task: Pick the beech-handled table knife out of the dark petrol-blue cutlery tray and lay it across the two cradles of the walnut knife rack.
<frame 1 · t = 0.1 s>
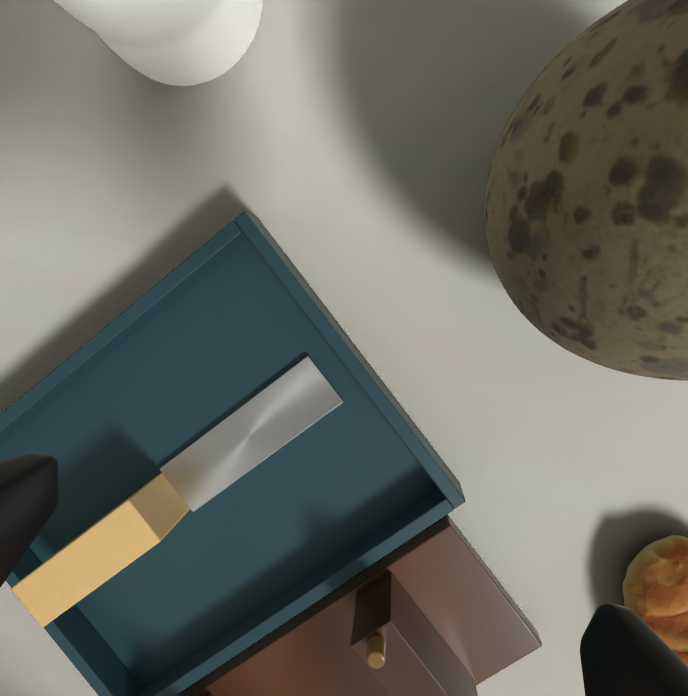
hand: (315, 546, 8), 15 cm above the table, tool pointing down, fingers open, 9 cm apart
knife rack: (348, 664, 25), on the table
knife: (194, 476, 24), resting on cutlery tray
cutlery tray: (198, 472, 25), on the table
water bottle: (189, 8, 23), on the table
decorative egg: (588, 223, 22), on the table
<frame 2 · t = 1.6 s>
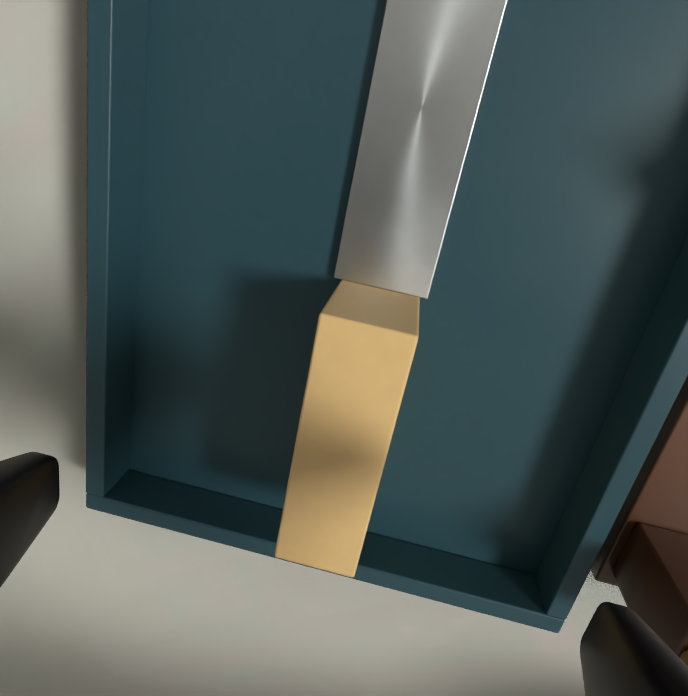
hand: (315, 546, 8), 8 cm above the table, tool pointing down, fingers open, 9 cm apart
knife: (389, 250, 14), resting on cutlery tray
cutlery tray: (390, 247, 14), on the table
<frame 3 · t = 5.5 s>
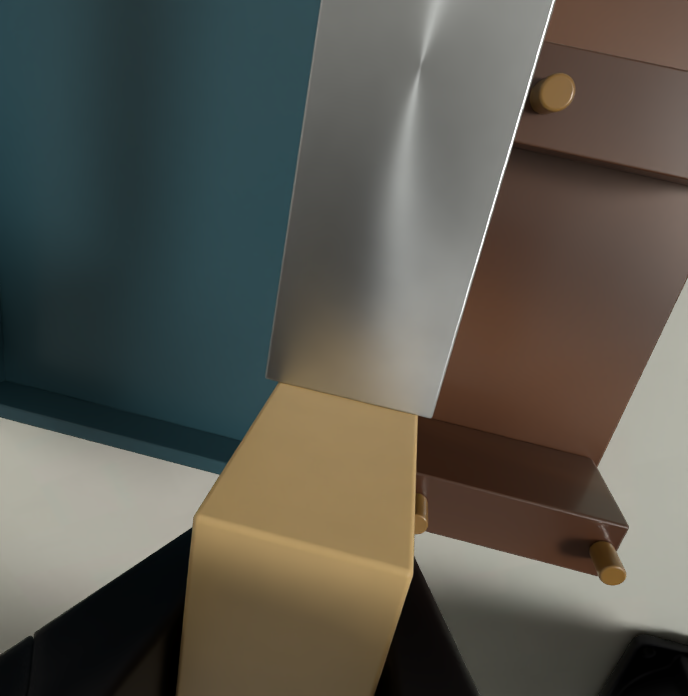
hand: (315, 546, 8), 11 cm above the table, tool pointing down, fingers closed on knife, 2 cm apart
knife rack: (556, 262, 17), on the table
knife: (362, 331, 8), point 10 cm above the table, touching gripper
cutlery tray: (199, 180, 17), on the table
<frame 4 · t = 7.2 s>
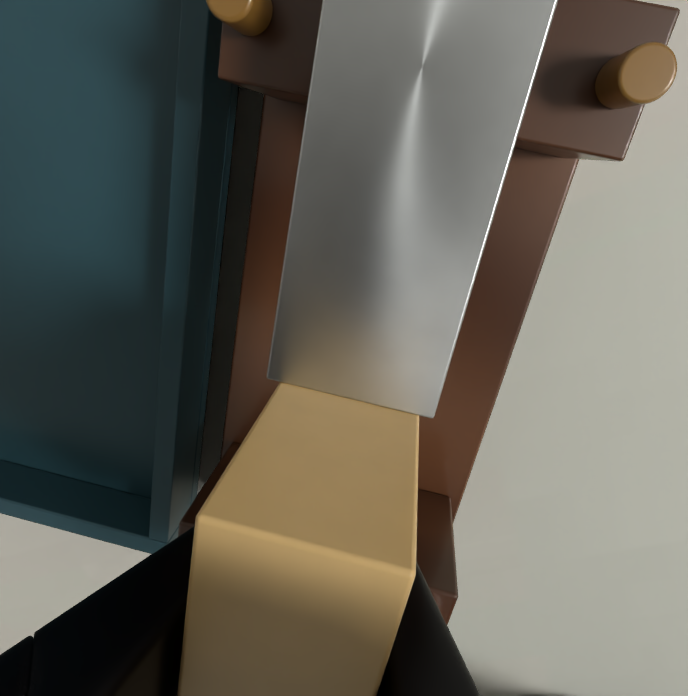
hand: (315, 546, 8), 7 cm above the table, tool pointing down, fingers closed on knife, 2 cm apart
knife rack: (389, 254, 13), on the table
knife: (364, 331, 8), point 6 cm above the table, touching gripper
when the fingers open (5 cm above the table, at t = 7.9 s): knife stays where it is, resting on knife rack.
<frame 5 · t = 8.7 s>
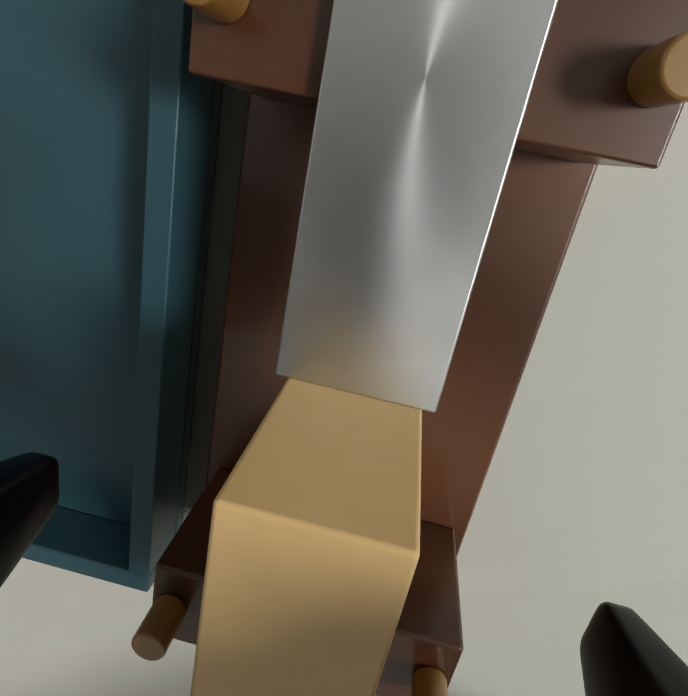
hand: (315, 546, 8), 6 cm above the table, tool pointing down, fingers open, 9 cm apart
knife rack: (388, 267, 12), on the table
knife: (369, 329, 8), point 4 cm above the table, touching knife rack
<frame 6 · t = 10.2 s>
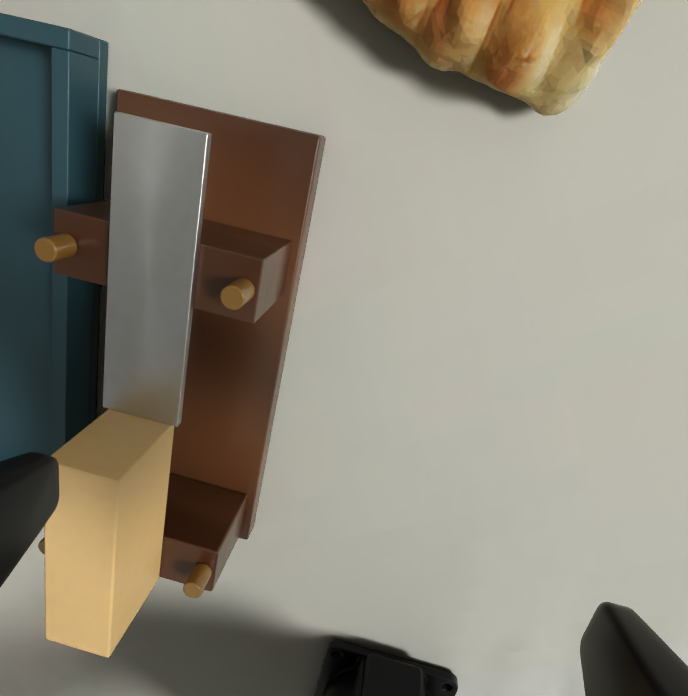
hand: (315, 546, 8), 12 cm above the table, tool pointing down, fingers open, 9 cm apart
knife rack: (201, 339, 21), on the table
knife: (146, 386, 17), point 4 cm above the table, touching knife rack
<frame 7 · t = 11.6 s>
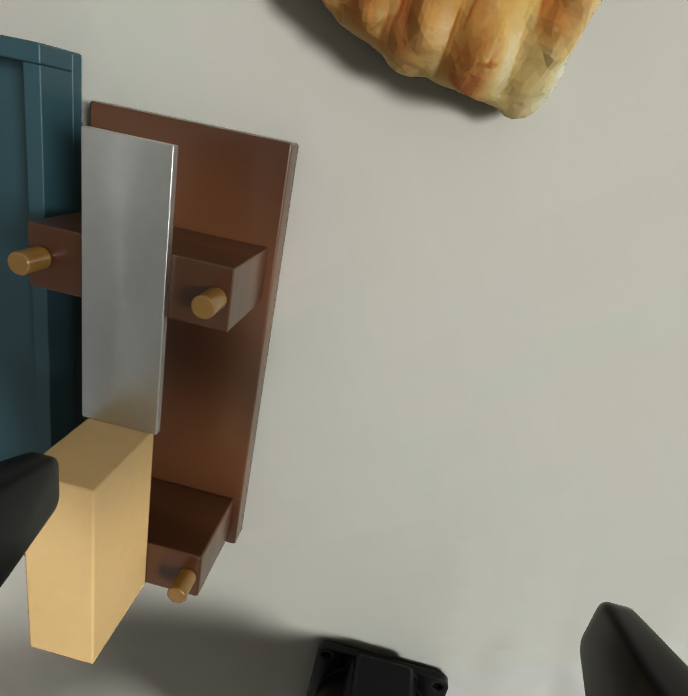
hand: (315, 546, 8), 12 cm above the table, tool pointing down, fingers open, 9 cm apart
knife rack: (183, 346, 21), on the table
knife: (124, 395, 17), point 4 cm above the table, touching knife rack
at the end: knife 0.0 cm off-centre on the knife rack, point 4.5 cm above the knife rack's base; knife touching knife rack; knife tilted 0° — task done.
